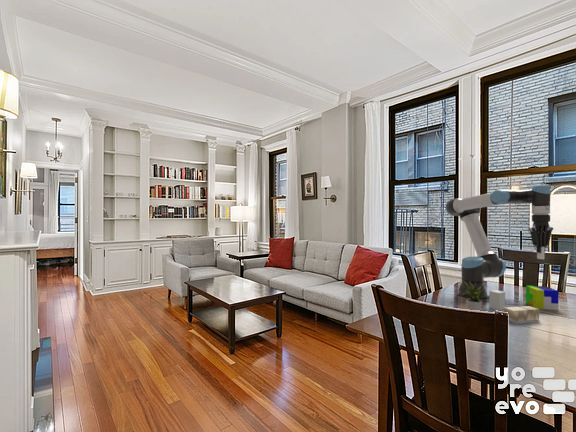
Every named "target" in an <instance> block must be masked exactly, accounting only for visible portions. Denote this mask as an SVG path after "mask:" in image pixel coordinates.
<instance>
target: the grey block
mask: <svg viewBox="0 0 576 432" xmlns="http://www.w3.org/2000/svg"><path fill="white" fill-rule="evenodd" d="M488 293H489V295H488V296H489V299H488V301H489V302H488V303H489V305H488V307H489V309H493V310H497V311H502V310H503V311H504V308H505V307H506V292H505V291H503V290H497V289H493V290H489V291H488Z"/></svg>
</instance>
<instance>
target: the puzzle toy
mask: <svg viewBox="0 0 576 432" xmlns="http://www.w3.org/2000/svg"><path fill="white" fill-rule="evenodd" d="M559 298H560V297H559V290H557V289H554V288H552V287H549V286H547V285H546V286H543V285H526V286H525V304H526V305H527V306H530V307H534V308H537V309H539V310H554V311H555V310H556V311H558V310H559Z"/></svg>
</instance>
